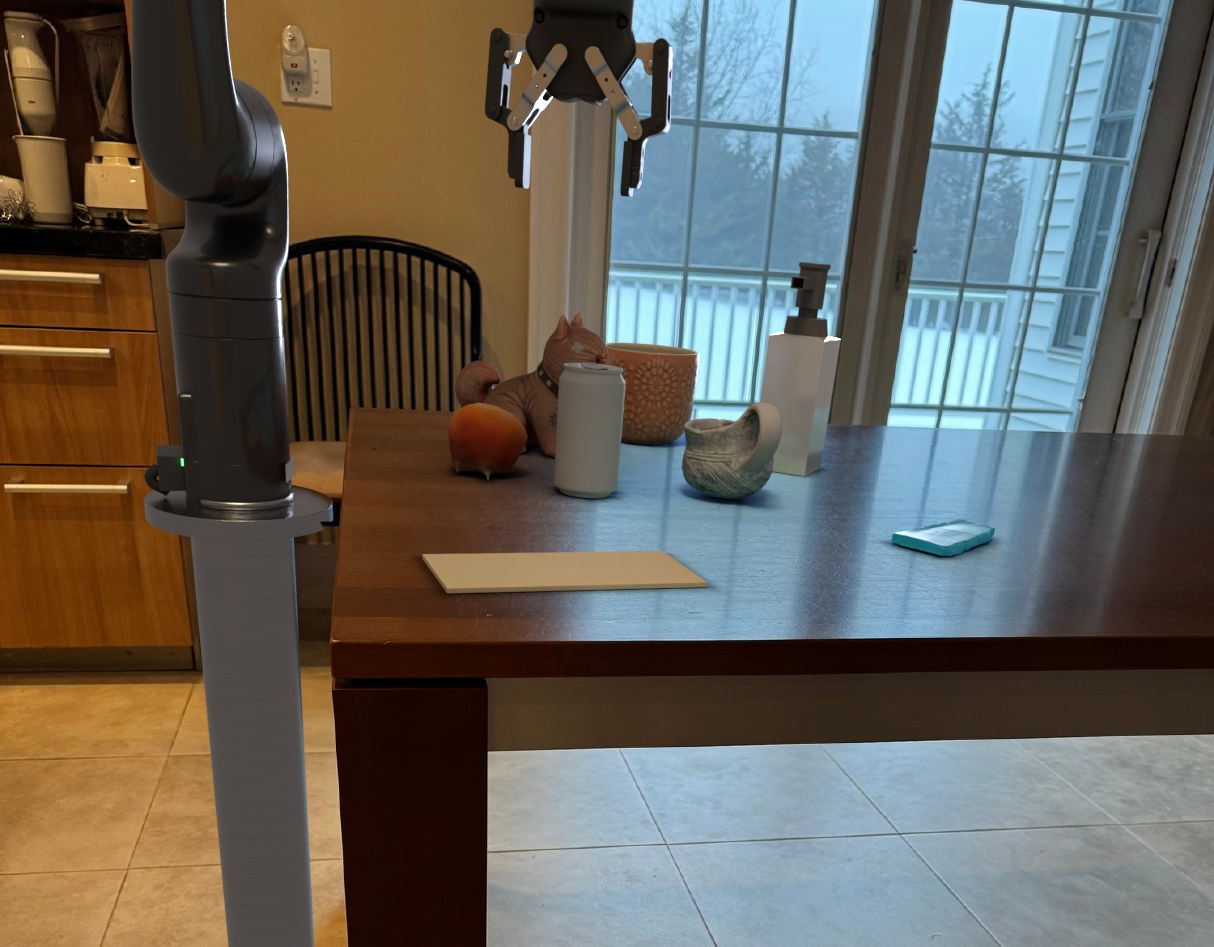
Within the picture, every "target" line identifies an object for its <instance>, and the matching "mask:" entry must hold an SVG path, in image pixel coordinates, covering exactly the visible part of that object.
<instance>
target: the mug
mask: <svg viewBox="0 0 1214 947" xmlns="http://www.w3.org/2000/svg"><path fill="white" fill-rule="evenodd" d="M683 427H684V431H685V432H684V436H685V449H684V452H683V455H682V460H681V471H682V476H683V478H684V480H685V482H686V483H687V484H688V485H689V486H690V487H691V488H693V489H694V490H695V491H697V492H699V493H702V494H705V495H707V496H710V497H713V498H718V499H727V500H728V499H729V500H745V499H746V498H749V497H752V496H754V495H755V494H757V493H758V492H760V491H761V490H762V489H763V488H764V487H765V485H767V483H768V481H769V480H770V479H771V476H772V474H773V471H772V469H773V463H774V459H773V458H774V457H773V455H774V454H775V452H776V450H777V447H778V445H779V442H780V439H781V434H782V419H781V414H780V412H779V410H778V409H777V408H776V407H775V406H773V405H771V404H769V403H760V402H756V403H753V404H752V405H750V406H749V407H747V409H745V411H744V412H743V413H742V414H741V415H740V416H739V418H737V420H732V419H731V420H730V419H726V418H721V419H719V418H713V417H712V418H710V417H709V418H708V417H706V418H695V419H691V420H690V421H688V422H687V423H685V425H684V426H683Z"/></svg>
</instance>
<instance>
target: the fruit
mask: <svg viewBox="0 0 1214 947" xmlns="http://www.w3.org/2000/svg"><path fill="white" fill-rule="evenodd" d="M447 432H448V445H449V446H448V447H449V452H450V456H451V461H452V465H453V467H454V468H455V471H456V472H455V474H458V473H459V472H472V473H473V472H474V473H481V474H483V475H485V476H486V480H487V481H488V482H489V481H490V475H492V474H493V475H506V474H508V473H509V472H511V470H512V468H513V467H514V465H516V462H517V461H518V459H519V457H520V456H521V454H522V453H521V452H522V451H523V449H524V446H525V447H526V444H527V443H526V441H527V438H528V436H527V433H526V431H525V428H524V427H523V426H522V423H521V422H520V421H519V420H518V419H517V418H516V417H515V416H514V415H513V414H511V413H509V412H507V411H505V410H503V409H501V408H500V407H497V406H493V405H489V404H485V403H476V404H469V405H466V406H464V407H461V408H458V409H456V410H455V411H454V412H453V414H452V416H451V418H450V422H449V426H448V431H447Z"/></svg>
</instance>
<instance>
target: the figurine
mask: <svg viewBox="0 0 1214 947" xmlns="http://www.w3.org/2000/svg"><path fill="white" fill-rule="evenodd" d="M605 343H606V342H605V341H604V340H603V338H602V337H601V336H600V335H598V334H597V333H596V332H594V331H593V330H590V329H589V328H586V327H584V324H583V319H582V315H581V312H578V313H576V314H575V315H574V316H573V319H572V320H571V322H569V321H568V319H567V317H566V315H565V314H562V315H560V317H559V319H558V321H557V325H556V328H555V330H554V331H553V332H552V333H551V335H549V337H548V339H547V341H546V342H545V346H544V347H543V352H542V359H541V361H540V362H539V364H538V365H537V367H536V369H535V370H533V371H532V372H529V373H525V374H521V375H516V376H514V377H511V378H508V379H506V380H504V381H502V382H501V380H502V379H501V374H500V371H499V370H498V368H497V367H496V366H495V365H493V364H492V363H491V362H488V361H486V360H474V361H472V362H469V363H468V364H467V365H465V366H464V367H463V368H462V369H461V370H460V372H459V373H458V374H457V377H456V380H455V384H454V385H455V386H454V392H455V397H456V399H457V402H458V403H459V405H460V406H461V408H463V407H464V406H466V405H469V404H476V403H485V404H489V405H493V406H497V407H500V408H501V409H503V410H505V411H507V412H509V413H511V414H513V415H514V416H515V417H516V418H517V419H518V420H519V421H520V422H521V423H522V426H523V427H524V428H525V431H526V433H527V436H528V438H527V441H526V444H528V445H532V446H533V445H534V446H536V445H537V446H539V447H541V449H542V451H543V452H544V454H545V455H546V456H549V457H551V458H555V451H556V432H557V413H558V394H559V378H560V376H561V374H562V373H563V372H564V370H565V368H564V364H565V363H594V364H604V365H611V366H616V367H617V364H616V363H615V362H614V361H612V360H611V359H610V358H609V355H608V350H607V347H606V344H605ZM493 386H494V387H493ZM492 387H493V388H492ZM526 450H527V447H526V445H525V446H524V449H523V451H522V452H521V454H524V453H526Z"/></svg>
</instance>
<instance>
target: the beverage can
mask: <svg viewBox="0 0 1214 947" xmlns="http://www.w3.org/2000/svg"><path fill="white" fill-rule="evenodd" d="M564 368H565V370H564V372H563V373H562V374H561V376H560V378H559V394H558V413H557V432H556V451H555V457H554V473H553V484H554V486H555V487H557V488H558V489H559V490H560V492H561V493H562V494H564V495H567V496H570V497H575V498H576V497H577V498H581V499H582V498H583V499H603V498H607V497H609V496H610V495H611V494H612V493H613V492H615V491H616V490H618V488H619V487H618V484H619V474H620V463H621V462H620V461H621V448H622V447H621V446H622V440H621V436H622V424H623V411H624V398H625V385H626V383H625V380H624V378H623V377H622V372H623V368H620V367H616V366H611V365H604V364H594V363H565V364H564Z"/></svg>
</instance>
